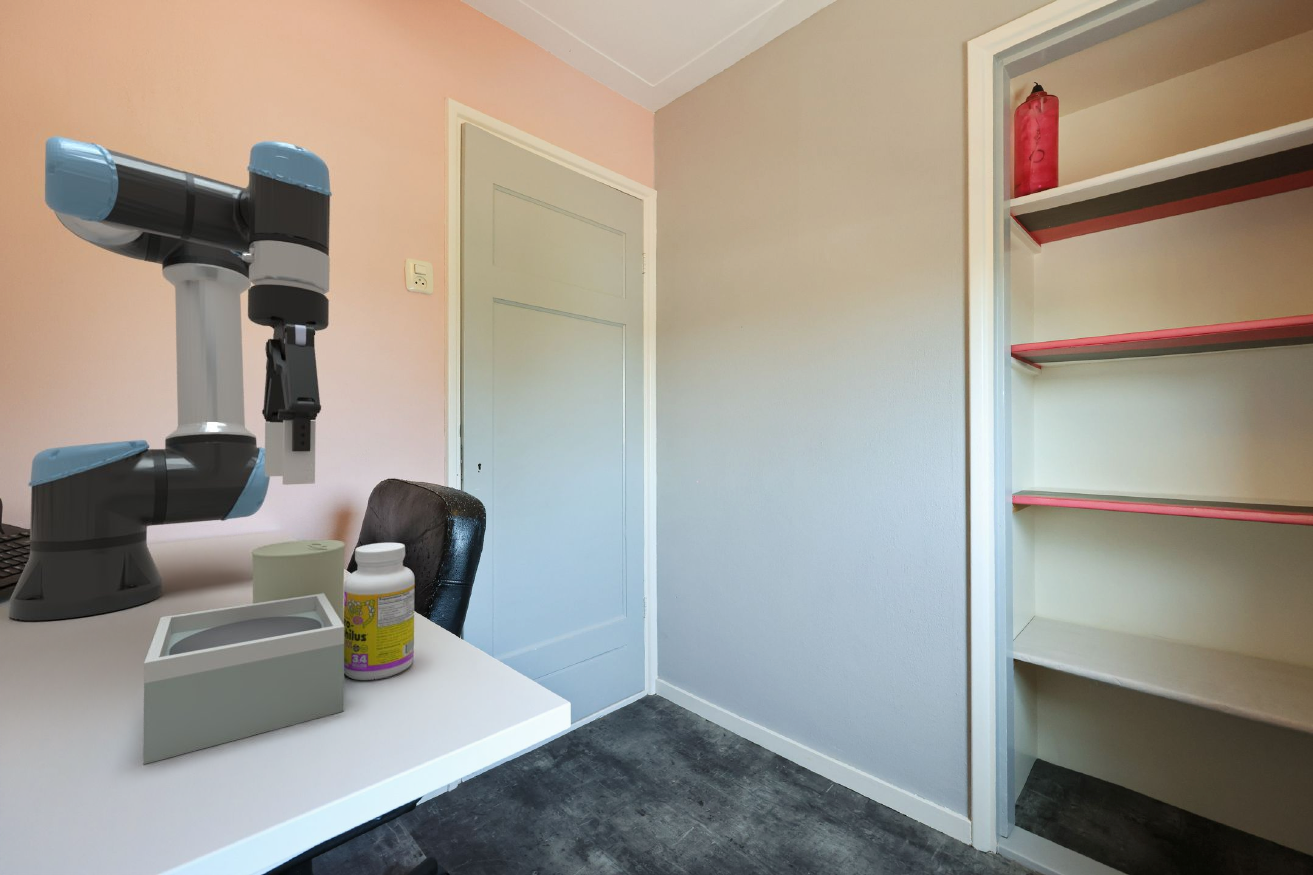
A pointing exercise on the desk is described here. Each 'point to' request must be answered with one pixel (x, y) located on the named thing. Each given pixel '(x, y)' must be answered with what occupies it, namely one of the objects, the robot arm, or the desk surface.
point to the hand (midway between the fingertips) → (287, 480)
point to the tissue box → (240, 673)
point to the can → (300, 571)
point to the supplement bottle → (378, 613)
